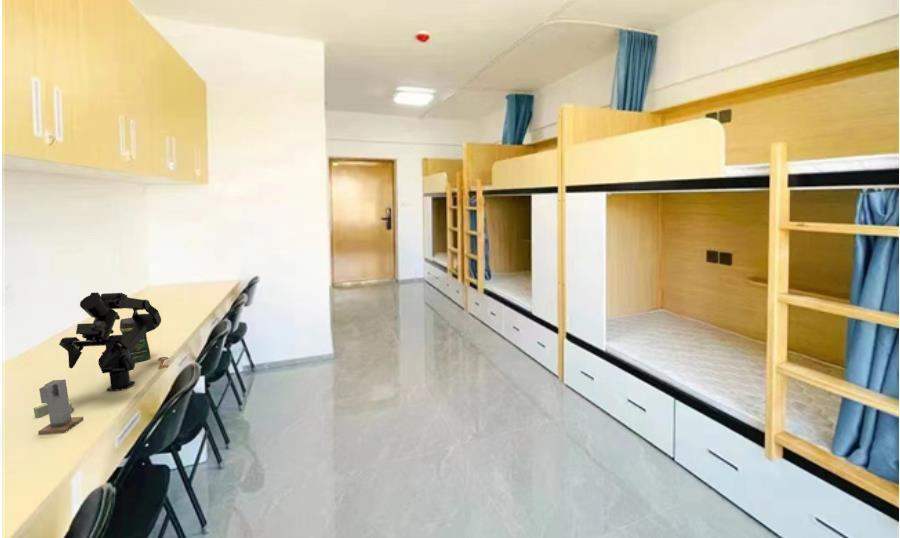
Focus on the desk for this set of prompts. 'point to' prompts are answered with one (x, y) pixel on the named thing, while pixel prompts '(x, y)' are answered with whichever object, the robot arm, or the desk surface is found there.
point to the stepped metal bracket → (56, 402)
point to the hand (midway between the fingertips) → (86, 367)
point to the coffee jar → (142, 347)
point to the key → (162, 363)
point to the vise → (45, 410)
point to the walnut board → (60, 429)
